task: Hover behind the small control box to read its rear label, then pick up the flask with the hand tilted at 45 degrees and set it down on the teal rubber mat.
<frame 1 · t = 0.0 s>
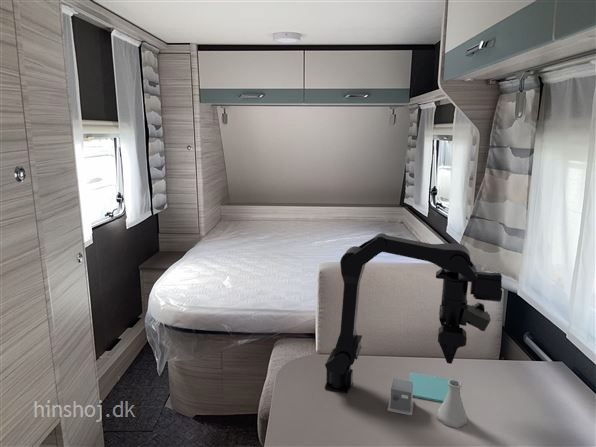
hand: (449, 354, 112), 15 cm above the table, tool pointing down, fingers open, 9 cm apart
control box: (400, 406, 115), on the table
mat: (428, 388, 123), on the table
flask: (451, 419, 110), on the table
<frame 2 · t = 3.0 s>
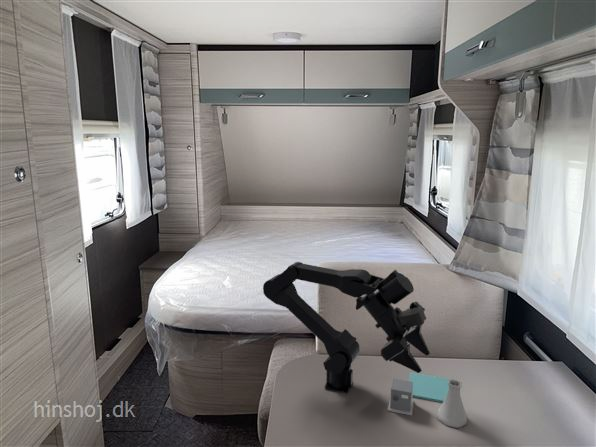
hand: (424, 362, 111), 13 cm above the table, tool tilted 45°, fingers open, 9 cm apart
nothing on the table moved.
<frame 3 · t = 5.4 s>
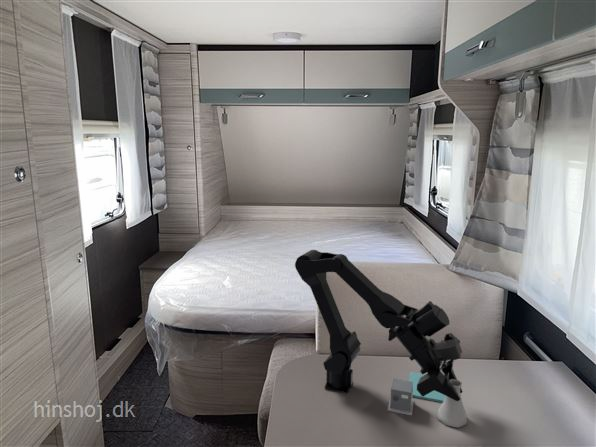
hand: (459, 396, 108), 7 cm above the table, tool tilted 45°, fingers closed on flask, 3 cm apart
flask: (451, 419, 110), on the table, touching gripper
when the fingers open (8 cm above the table, at t = 8.4 s): flask stays where it is, resting on mat.
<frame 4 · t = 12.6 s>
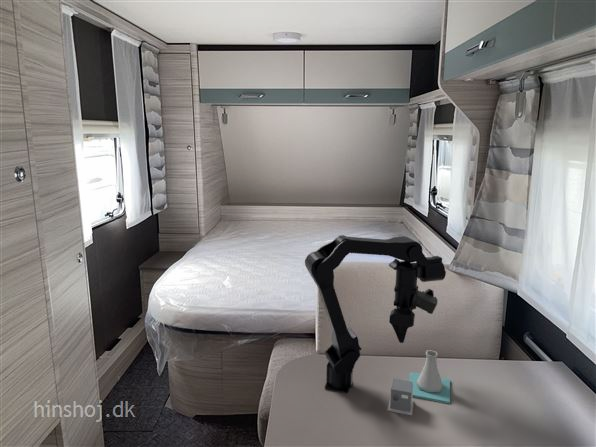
hand: (403, 335, 125), 13 cm above the table, tool pointing down, fingers open, 9 cm apart
flask: (429, 386, 123), resting on mat
at the end: flask inside the target area on the mat (0.2 cm from its centre), point 0.4 cm above the mat's base; flask tilted 0°; the gripper is holding nothing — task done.
